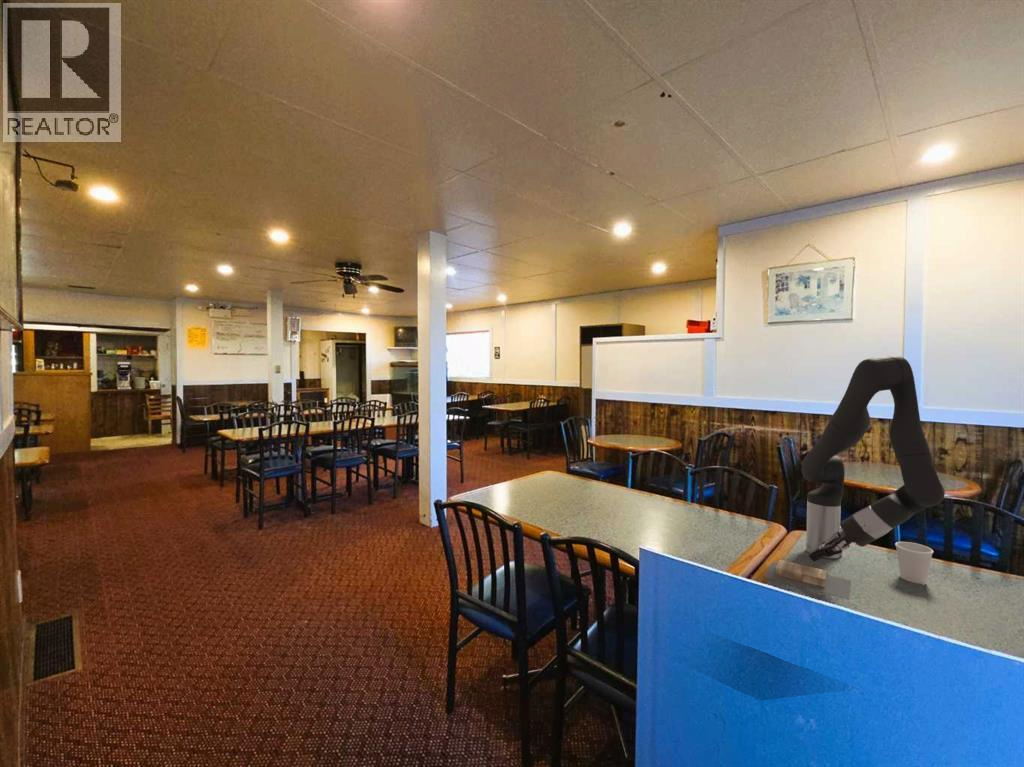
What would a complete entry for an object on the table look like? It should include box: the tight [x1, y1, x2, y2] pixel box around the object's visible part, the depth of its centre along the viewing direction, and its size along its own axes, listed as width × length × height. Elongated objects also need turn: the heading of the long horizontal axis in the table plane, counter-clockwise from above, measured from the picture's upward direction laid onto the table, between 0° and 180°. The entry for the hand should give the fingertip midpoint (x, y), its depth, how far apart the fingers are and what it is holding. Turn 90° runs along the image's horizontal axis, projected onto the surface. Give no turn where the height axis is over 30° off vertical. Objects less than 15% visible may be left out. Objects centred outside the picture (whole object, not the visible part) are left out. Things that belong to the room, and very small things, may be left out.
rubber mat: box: [763, 561, 852, 600], centre depth 130 cm, size 20×14×1 cm
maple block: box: [776, 559, 828, 588], centre depth 130 cm, size 2×7×12 cm
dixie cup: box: [894, 541, 934, 586], centre depth 130 cm, size 8×8×10 cm
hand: (811, 558), depth 129 cm, fingers closed
